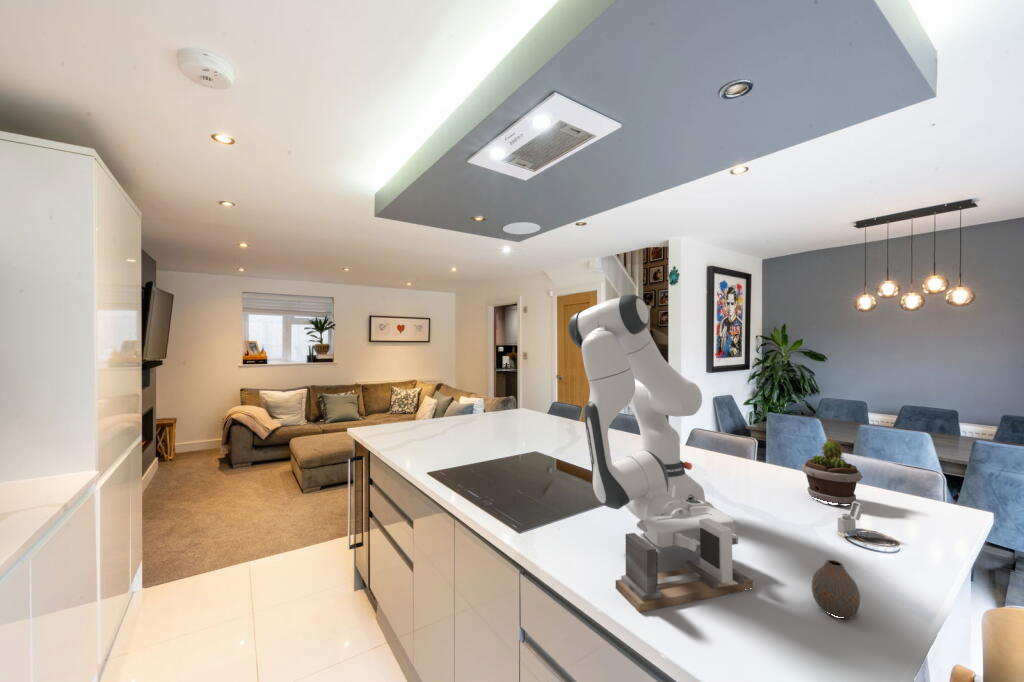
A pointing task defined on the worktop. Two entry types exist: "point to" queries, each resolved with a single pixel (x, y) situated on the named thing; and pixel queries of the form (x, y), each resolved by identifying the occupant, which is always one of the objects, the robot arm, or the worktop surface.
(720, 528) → the white upright block
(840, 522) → the lighter
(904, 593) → the worktop surface
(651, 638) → the worktop surface
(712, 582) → the rail
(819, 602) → the vase
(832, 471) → the flowerpot
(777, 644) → the worktop surface
